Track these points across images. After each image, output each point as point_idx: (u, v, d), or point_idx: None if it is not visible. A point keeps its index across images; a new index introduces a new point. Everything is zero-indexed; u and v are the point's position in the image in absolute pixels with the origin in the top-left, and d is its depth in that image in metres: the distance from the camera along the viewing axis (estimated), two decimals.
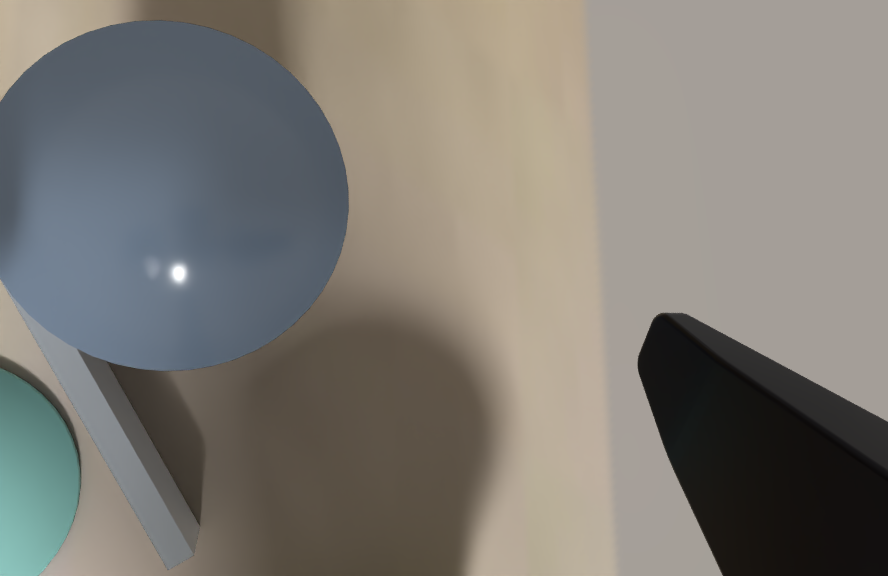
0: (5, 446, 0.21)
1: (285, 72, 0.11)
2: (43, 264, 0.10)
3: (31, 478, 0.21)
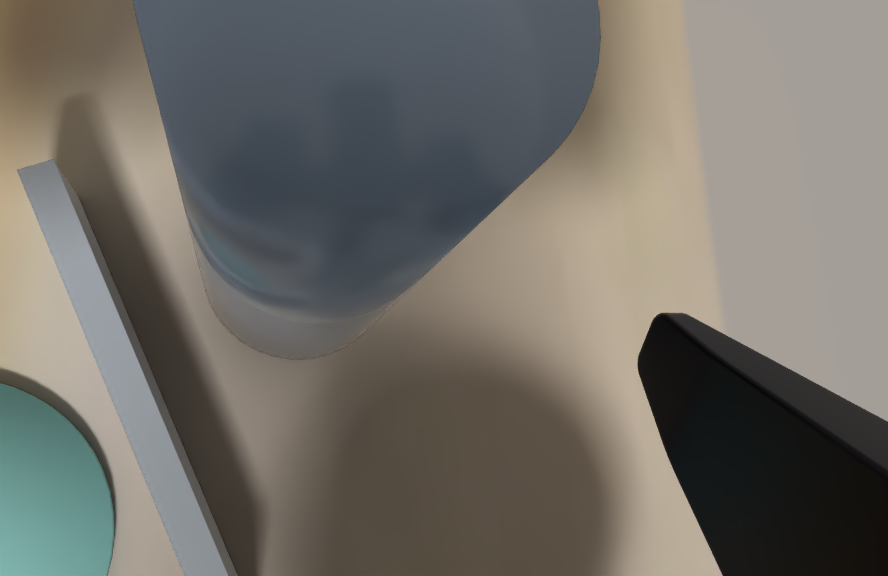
0: (27, 495, 0.17)
1: None
2: (211, 43, 0.07)
3: (53, 540, 0.17)
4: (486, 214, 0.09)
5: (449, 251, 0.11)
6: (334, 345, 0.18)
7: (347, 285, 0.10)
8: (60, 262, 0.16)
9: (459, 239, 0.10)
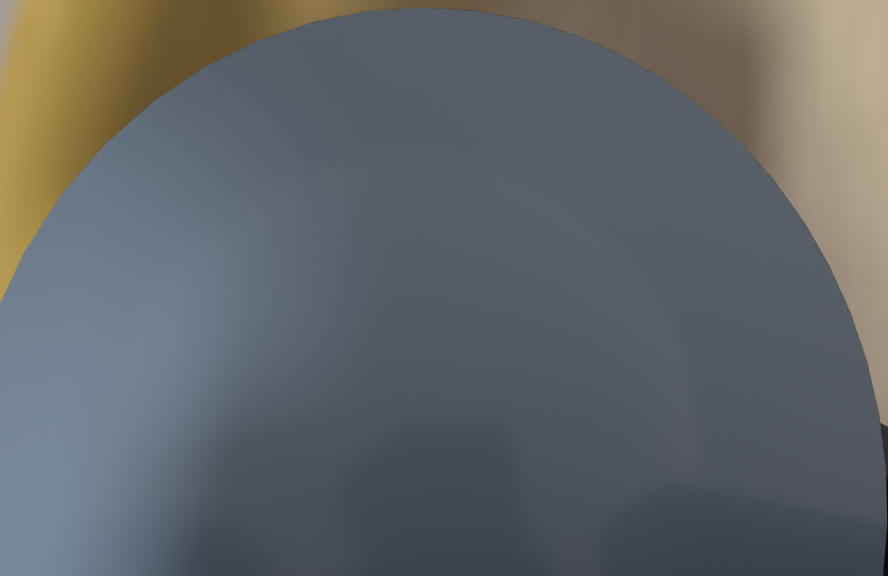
0: None
1: (714, 144, 0.05)
2: None
3: None
4: None
5: None
6: None
7: None
8: None
9: None
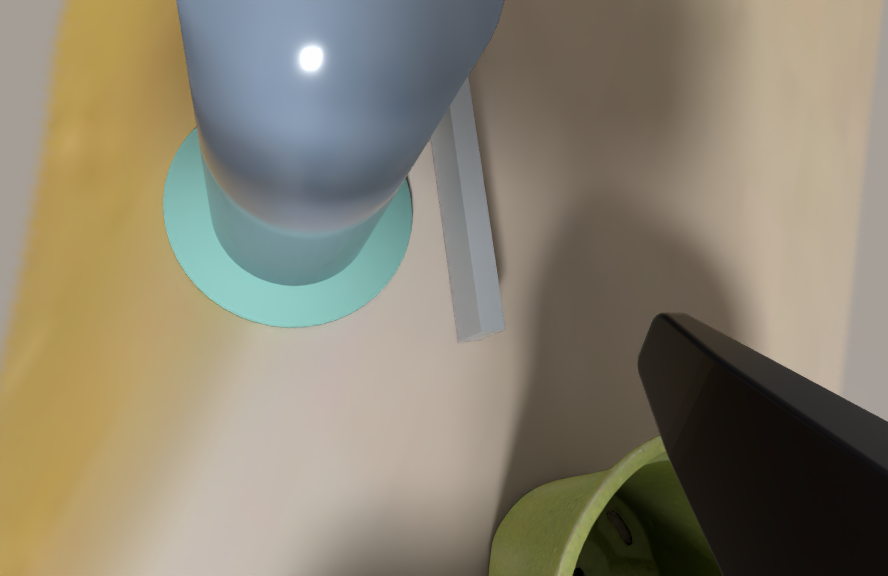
0: None
1: None
2: None
3: (372, 232, 0.24)
4: (425, 121, 0.12)
5: (407, 164, 0.15)
6: (322, 268, 0.21)
7: (325, 185, 0.14)
8: None
9: (410, 147, 0.13)
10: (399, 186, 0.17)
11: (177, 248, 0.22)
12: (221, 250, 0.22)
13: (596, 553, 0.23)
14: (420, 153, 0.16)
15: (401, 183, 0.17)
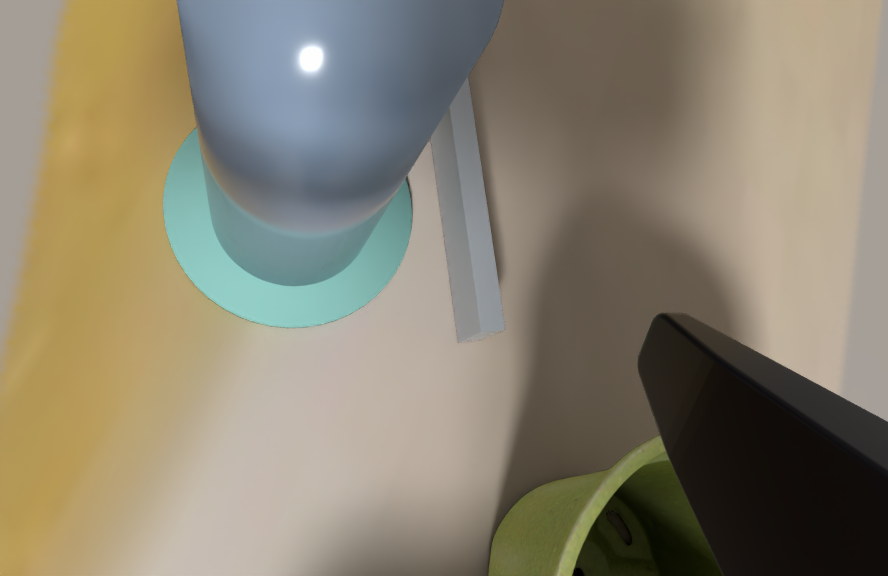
0: None
1: None
2: None
3: None
4: (425, 121, 0.12)
5: (406, 164, 0.15)
6: (322, 269, 0.21)
7: (325, 185, 0.14)
8: None
9: (409, 147, 0.13)
10: (399, 186, 0.17)
11: (177, 248, 0.22)
12: (221, 250, 0.22)
13: (596, 553, 0.23)
14: (420, 153, 0.16)
15: (401, 183, 0.17)
